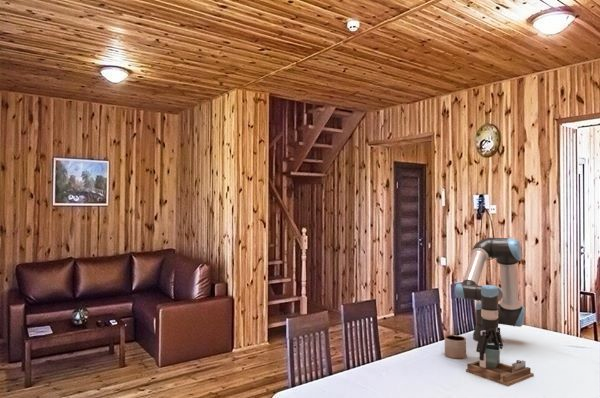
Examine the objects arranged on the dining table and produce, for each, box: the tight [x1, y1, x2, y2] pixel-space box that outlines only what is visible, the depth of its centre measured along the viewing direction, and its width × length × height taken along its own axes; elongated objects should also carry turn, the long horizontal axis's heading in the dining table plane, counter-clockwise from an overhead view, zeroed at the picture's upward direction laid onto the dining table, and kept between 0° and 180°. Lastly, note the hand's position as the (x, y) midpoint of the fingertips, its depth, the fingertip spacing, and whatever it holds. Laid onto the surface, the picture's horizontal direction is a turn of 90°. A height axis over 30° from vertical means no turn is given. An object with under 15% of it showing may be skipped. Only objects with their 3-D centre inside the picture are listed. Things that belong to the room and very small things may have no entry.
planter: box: [444, 334, 467, 360], centre depth 234 cm, size 11×11×10 cm
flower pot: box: [485, 343, 501, 368], centre depth 209 cm, size 9×9×9 cm
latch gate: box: [511, 359, 527, 372], centre depth 205 cm, size 2×9×6 cm, turn 124°
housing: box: [465, 359, 535, 387], centre depth 208 cm, size 21×22×4 cm
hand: (489, 364), depth 209 cm, fingers closed on flower pot, 11 cm apart
